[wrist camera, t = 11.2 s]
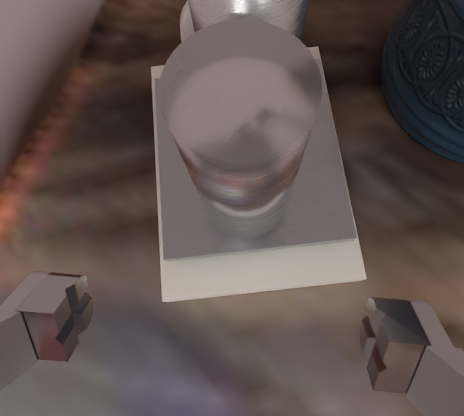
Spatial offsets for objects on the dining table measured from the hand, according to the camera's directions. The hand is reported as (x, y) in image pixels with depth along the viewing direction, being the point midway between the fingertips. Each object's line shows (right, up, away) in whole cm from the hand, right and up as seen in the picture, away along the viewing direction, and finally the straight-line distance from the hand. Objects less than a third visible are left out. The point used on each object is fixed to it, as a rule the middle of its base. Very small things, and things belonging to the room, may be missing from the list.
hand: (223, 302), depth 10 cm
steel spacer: (+1, +3, +9) cm, 9 cm away
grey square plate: (+1, +6, +11) cm, 12 cm away
